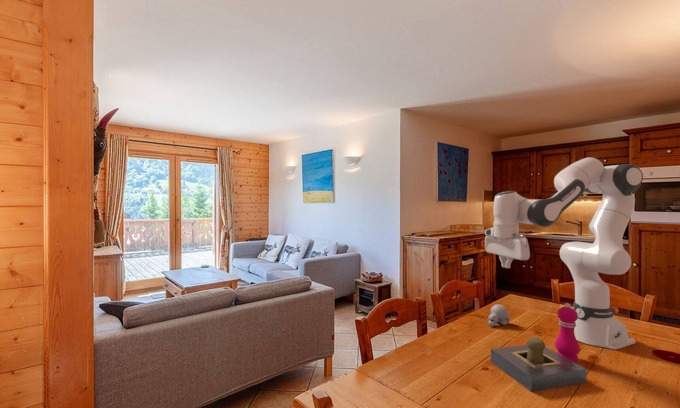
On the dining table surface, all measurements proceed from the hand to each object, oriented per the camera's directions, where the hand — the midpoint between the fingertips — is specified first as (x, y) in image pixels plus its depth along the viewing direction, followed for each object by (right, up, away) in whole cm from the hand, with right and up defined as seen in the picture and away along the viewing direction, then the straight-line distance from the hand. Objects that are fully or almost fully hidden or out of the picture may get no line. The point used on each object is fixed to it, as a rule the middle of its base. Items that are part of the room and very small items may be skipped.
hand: (505, 267), depth 126 cm
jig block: (-1, -31, -20) cm, 37 cm away
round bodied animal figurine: (+6, -30, +20) cm, 37 cm away
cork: (-1, -31, -20) cm, 37 cm away
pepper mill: (+16, -31, -12) cm, 36 cm away
